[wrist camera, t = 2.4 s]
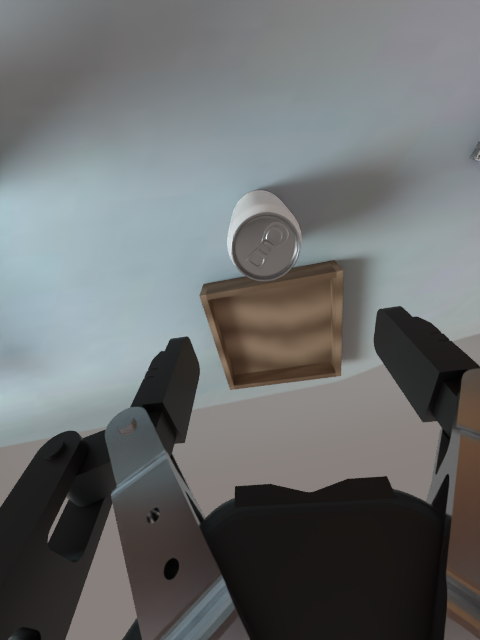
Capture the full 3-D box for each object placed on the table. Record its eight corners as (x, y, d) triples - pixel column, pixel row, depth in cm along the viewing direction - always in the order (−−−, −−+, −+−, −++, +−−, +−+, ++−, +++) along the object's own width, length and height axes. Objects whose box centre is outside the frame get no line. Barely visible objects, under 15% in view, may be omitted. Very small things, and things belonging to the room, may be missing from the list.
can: (296, 212, 30) (323, 240, 20) (263, 255, 33) (271, 299, 22) (253, 176, 28) (258, 186, 18) (221, 225, 31) (210, 258, 21)
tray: (203, 284, 35) (199, 295, 32) (334, 260, 33) (343, 270, 30) (231, 374, 44) (230, 389, 42) (334, 360, 42) (340, 375, 39)
